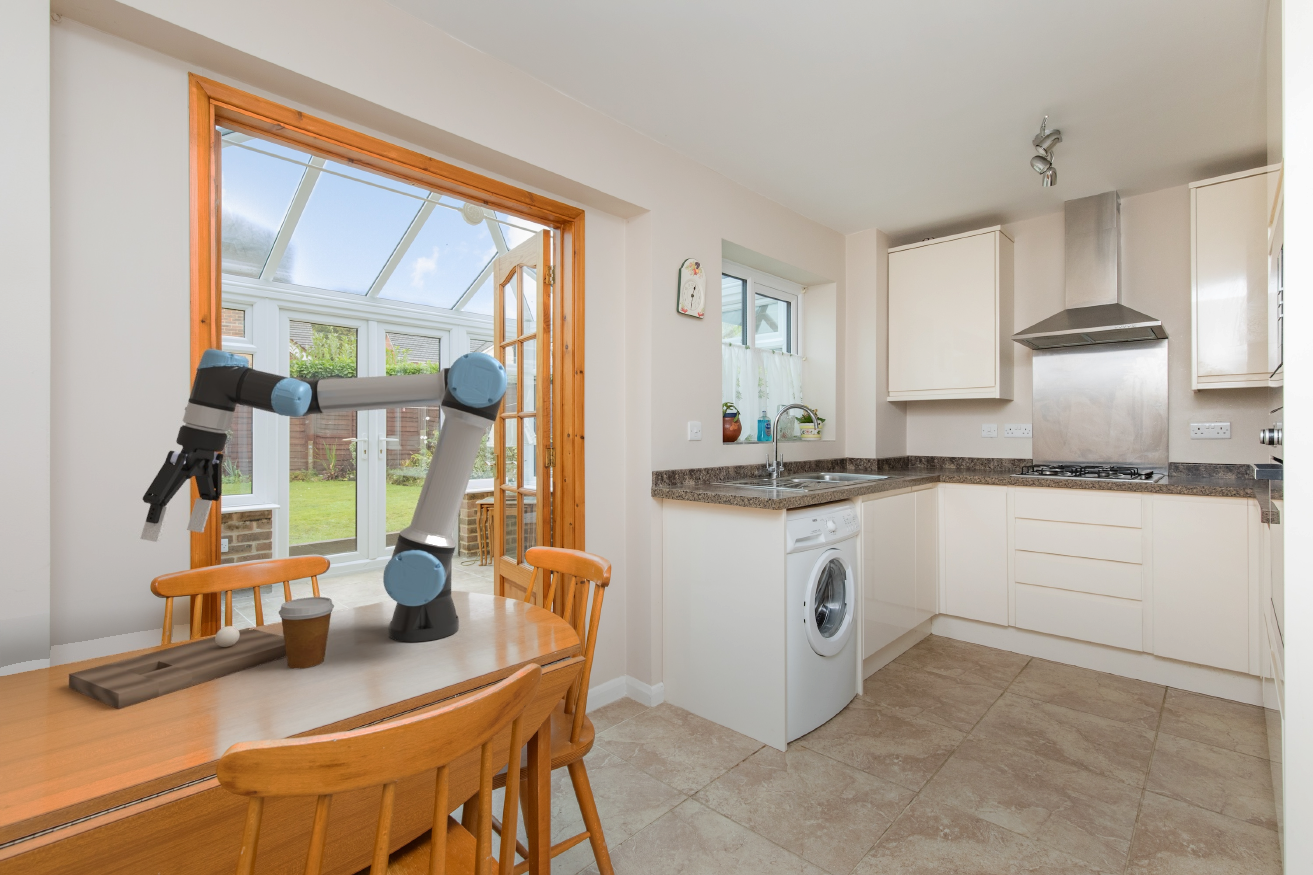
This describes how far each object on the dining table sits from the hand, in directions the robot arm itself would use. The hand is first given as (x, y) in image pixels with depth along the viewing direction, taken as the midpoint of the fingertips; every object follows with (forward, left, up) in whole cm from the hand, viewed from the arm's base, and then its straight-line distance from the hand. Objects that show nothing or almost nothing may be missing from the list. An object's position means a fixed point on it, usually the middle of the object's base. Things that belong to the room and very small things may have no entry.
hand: (173, 535), depth 115 cm
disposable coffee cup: (-19, -14, -26) cm, 35 cm away
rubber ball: (-3, -8, -21) cm, 23 cm away
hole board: (-3, -2, -26) cm, 26 cm away
